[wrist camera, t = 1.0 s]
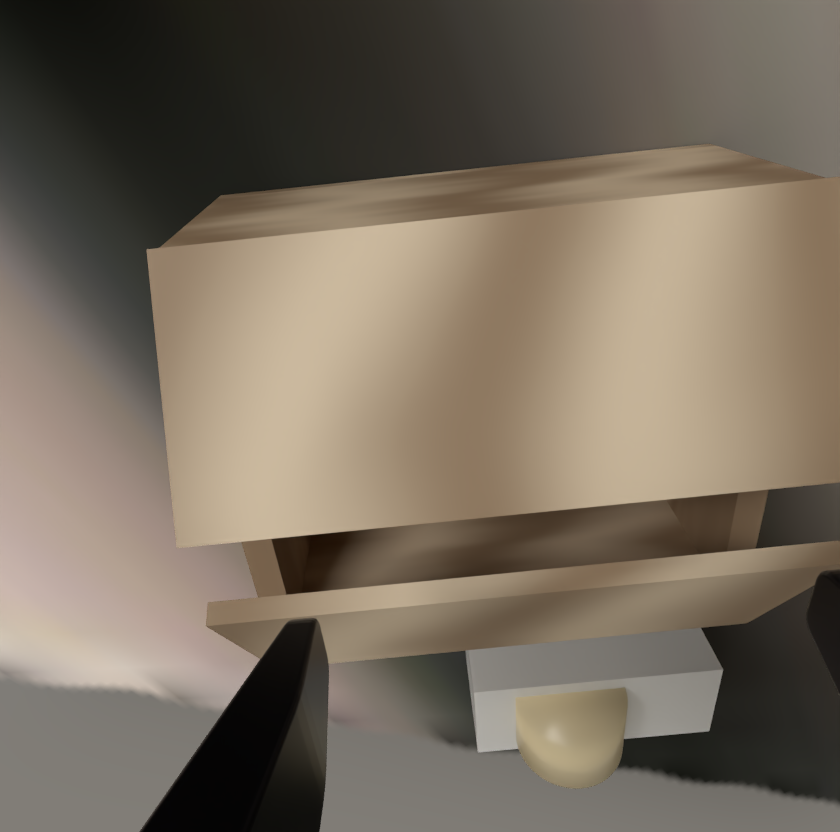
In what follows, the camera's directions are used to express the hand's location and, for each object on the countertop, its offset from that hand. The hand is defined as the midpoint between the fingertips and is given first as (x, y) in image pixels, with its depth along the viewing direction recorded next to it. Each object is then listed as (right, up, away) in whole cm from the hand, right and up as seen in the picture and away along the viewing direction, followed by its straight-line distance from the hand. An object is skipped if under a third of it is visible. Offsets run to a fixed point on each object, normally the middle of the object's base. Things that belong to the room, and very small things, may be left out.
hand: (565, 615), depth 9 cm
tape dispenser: (+4, -6, +19) cm, 20 cm away
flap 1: (0, +4, +4) cm, 6 cm away
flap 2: (0, -2, +7) cm, 8 cm away
